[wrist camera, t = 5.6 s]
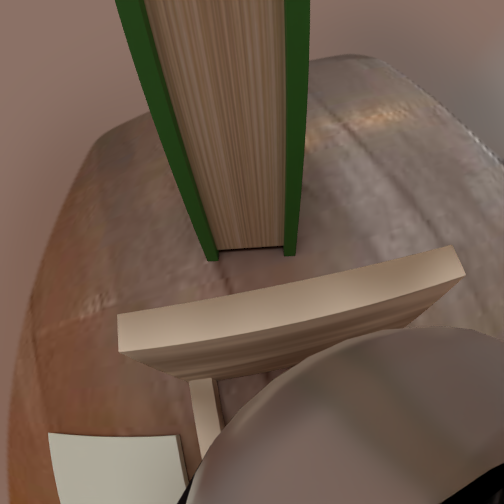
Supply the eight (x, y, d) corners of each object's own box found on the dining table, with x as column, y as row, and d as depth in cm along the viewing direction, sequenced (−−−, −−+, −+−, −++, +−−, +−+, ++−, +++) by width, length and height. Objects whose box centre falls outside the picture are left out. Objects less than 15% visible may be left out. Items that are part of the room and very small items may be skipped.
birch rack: (425, 543, 12) (506, 591, 2) (240, 591, 12) (215, 677, 1) (380, 322, 23) (452, 244, 12) (190, 363, 22) (117, 314, 12)
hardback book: (295, 255, 26) (308, -84, 5) (207, 261, 26) (100, -52, 6) (277, 125, 35) (267, -73, 14) (215, 130, 35) (179, -64, 14)
